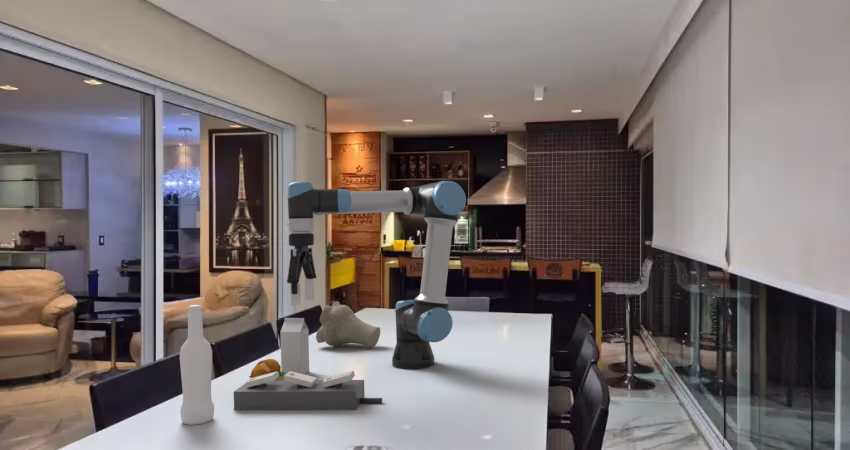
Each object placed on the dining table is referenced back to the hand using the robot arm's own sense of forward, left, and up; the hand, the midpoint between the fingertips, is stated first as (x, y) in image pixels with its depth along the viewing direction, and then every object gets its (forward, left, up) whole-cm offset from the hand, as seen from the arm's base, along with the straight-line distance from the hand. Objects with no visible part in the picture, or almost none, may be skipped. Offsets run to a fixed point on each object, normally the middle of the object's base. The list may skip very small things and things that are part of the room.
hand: (302, 302), depth 181 cm
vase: (-1, -64, -27) cm, 70 cm away
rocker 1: (+8, +14, -20) cm, 26 cm away
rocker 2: (-3, +14, -20) cm, 24 cm away
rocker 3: (-14, +14, -20) cm, 28 cm away
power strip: (-6, +14, -27) cm, 31 cm away
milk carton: (+9, -20, -27) cm, 35 cm away
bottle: (+20, +29, -27) cm, 44 cm away
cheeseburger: (+12, -2, -27) cm, 30 cm away
